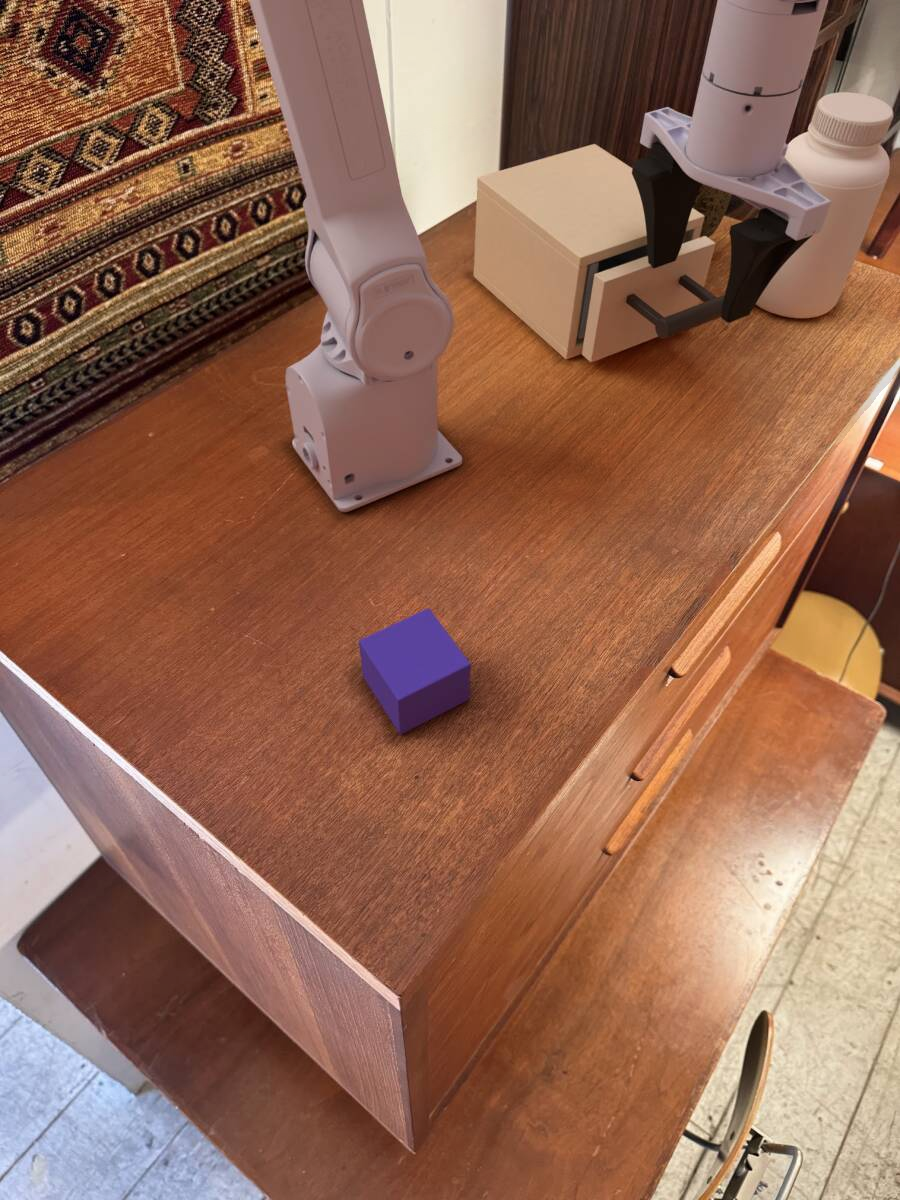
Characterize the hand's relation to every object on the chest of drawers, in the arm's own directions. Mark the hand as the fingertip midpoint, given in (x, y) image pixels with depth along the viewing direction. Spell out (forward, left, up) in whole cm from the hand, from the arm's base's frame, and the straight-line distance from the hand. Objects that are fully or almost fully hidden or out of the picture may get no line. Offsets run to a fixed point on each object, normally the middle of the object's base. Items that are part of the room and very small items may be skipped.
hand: (697, 288), depth 60 cm
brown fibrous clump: (+12, +14, -8) cm, 20 cm away
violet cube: (-31, -14, -8) cm, 35 cm away
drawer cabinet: (0, +13, -8) cm, 15 cm away
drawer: (0, +8, -7) cm, 10 cm away
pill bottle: (+16, +4, -8) cm, 18 cm away
